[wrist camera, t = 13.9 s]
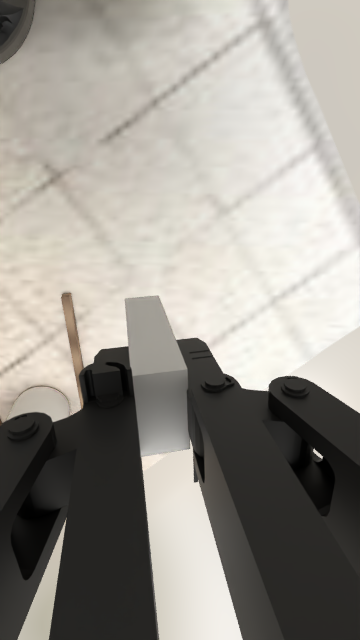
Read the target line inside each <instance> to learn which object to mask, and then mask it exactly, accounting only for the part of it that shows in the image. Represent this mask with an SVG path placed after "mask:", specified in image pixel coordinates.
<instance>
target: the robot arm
mask: <svg viewBox="0 0 360 640" xmlns="http://www.w3.org/2000/svg"><path fill="white" fill-rule="evenodd" d="M34 5H35V0H0V64H1V63H3V62H4V61H6V60H7V59H9V58H10V57H11V56H12V55H13V54H14V53H15V52H16V51H17V50H18V49H19V48H20V46H21V45H22V43H23V42H24V40H25V38H26V36H27V34H28V32H29V29H30V26H31V23H32V19H33V14H34ZM125 308H126V320H127V333H128V345H129V346H128V347H119V348H110V349H101V350H100V351H99V353H98V354H97V355H96V356H95V357H94V363H93V364H90V365H88V366H87V367H85V368H84V369H83V370H81V372H80V374H79V382H80V387H81V393H82V398H83V408H82V409H81V410H80V411H78V412H77V413H75V414H73V415H71V416H69V417H67V418H64V419H61V420H58V421H55V422H52V419H51V417H50V416H49V415H47V414H45V413H40V412H30V413H24V414H21V415H18V416H15V417H13V418H11V419H9V420H7V421H6V422H4V423H3V424H2V425H0V640H17V639H18V636H19V634H20V631H21V629H22V626H23V624H24V621H25V619H26V616H27V614H28V612H29V609H30V606H31V604H32V602H33V599H34V597H35V594H36V592H37V589H38V587H39V584H40V582H41V579H42V577H43V574H44V572H45V569H46V567H47V564H48V562H49V559H50V557H51V555H52V552H53V549H54V547H55V545H56V542H57V540H58V537H59V535H60V532H61V530H62V527H63V525H64V522H65V520H66V526H65V533H64V540H63V546H62V553H61V561H60V568H59V574H58V581H57V588H56V595H55V601H54V609H53V615H52V622H51V629H50V636H49V640H159V634H158V624H157V613H156V603H155V593H154V583H153V572H152V563H151V552H150V542H149V531H148V521H147V511H146V502H145V491H144V480H143V470H142V461H141V457H143V456H149V455H155V454H161V453H168V452H174V451H180V450H185V449H190V439H191V442H192V446H193V462H194V482H198V480H199V484H200V487H201V491H202V495H203V498H204V501H205V505H206V509H207V512H208V516H209V520H210V523H211V527H212V530H213V534H214V538H215V541H216V545H217V548H218V552H219V555H220V559H221V563H222V566H223V570H224V574H225V577H226V581H227V584H228V588H229V592H230V595H231V599H232V602H233V606H234V610H235V613H236V617H237V620H238V624H239V628H240V631H241V635H242V638H243V640H360V413H358V412H357V411H355V410H354V409H352V408H350V407H349V406H347V405H346V404H345V403H343V402H342V401H340V400H339V399H337V398H335V397H334V396H332V395H331V394H329V393H328V392H326V391H325V390H323V389H322V388H320V387H319V386H317V385H316V384H314V383H313V382H310V381H308V380H306V379H303V378H299V377H295V376H284V377H278V378H276V379H274V380H272V381H271V383H270V384H269V391H257V390H247V389H243V388H241V386H240V385H239V383H238V382H237V381H236V380H235V379H234V378H233V377H231V376H229V375H227V374H223V372H222V370H221V369H220V367H219V365H218V364H217V362H216V360H215V358H214V357H213V355H212V353H211V351H210V350H209V348H208V346H207V344H206V343H205V342H203V341H202V340H200V339H198V338H190V339H181V340H176V339H175V336H174V334H173V331H172V329H171V326H170V323H169V321H168V318H167V316H166V313H165V311H164V308H163V306H162V303H161V301H160V298H159V296H148V297H137V298H127V299H125ZM313 449H315V450H316V451H317V452H319V453H320V454H321V455H322V456H323V459H321V458H320V457H318V456H317V455H316V454H315V453H314V452H313ZM66 517H67V519H66Z"/></svg>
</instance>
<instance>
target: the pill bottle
mask: <svg viewBox="0 0 360 640" xmlns="http://www.w3.org/2000/svg"><path fill="white" fill-rule="evenodd" d="M30 412H40V413H45V414H47V415H49V416H50V417H51V419H52V422H55V421H58V420H61V419H64V418H67V417H69V414H70V406H69V403H68V400H67V399H66V397H65V396H64V395H63V394H62V393H61V392H59V391H57V390H55V389H53V388H50V387H34V388H31V389H28V390H26V391H25V392H23V393H22V394H21V395H20V396H19V397H18V398H17V400H16V401H15V403H14V405H13V407H12V409H11V411H10V413H9V416H8V418H7V420H9V419H11V418H13V417H15V416H18V415H21V414H24V413H30ZM7 420H6V421H7Z"/></svg>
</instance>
